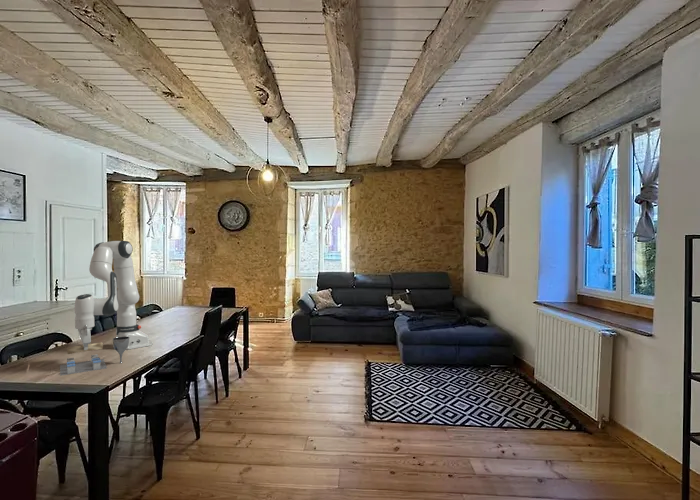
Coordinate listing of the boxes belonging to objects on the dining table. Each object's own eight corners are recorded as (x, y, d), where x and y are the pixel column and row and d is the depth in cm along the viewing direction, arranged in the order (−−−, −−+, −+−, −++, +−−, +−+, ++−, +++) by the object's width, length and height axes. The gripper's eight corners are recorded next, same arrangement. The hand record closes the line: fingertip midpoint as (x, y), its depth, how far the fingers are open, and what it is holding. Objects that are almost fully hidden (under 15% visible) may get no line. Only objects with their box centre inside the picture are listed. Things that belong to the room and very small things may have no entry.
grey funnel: (132, 363, 212) (132, 337, 212) (119, 367, 205) (119, 340, 205) (121, 361, 215) (122, 335, 215) (109, 365, 208) (109, 339, 208)
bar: (102, 347, 214) (102, 342, 214) (102, 348, 212) (102, 343, 211) (67, 352, 204) (67, 347, 204) (67, 354, 201) (67, 348, 201)
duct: (103, 360, 217) (103, 351, 217) (107, 370, 201) (107, 360, 201) (59, 366, 205) (60, 357, 205) (60, 377, 188) (60, 367, 188)
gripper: (93, 326, 201) (94, 351, 202) (89, 320, 217) (90, 344, 217) (79, 328, 197) (79, 354, 198) (76, 321, 213) (77, 346, 213)
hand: (85, 348), depth 208 cm, fingers closed on bar, 3 cm apart
